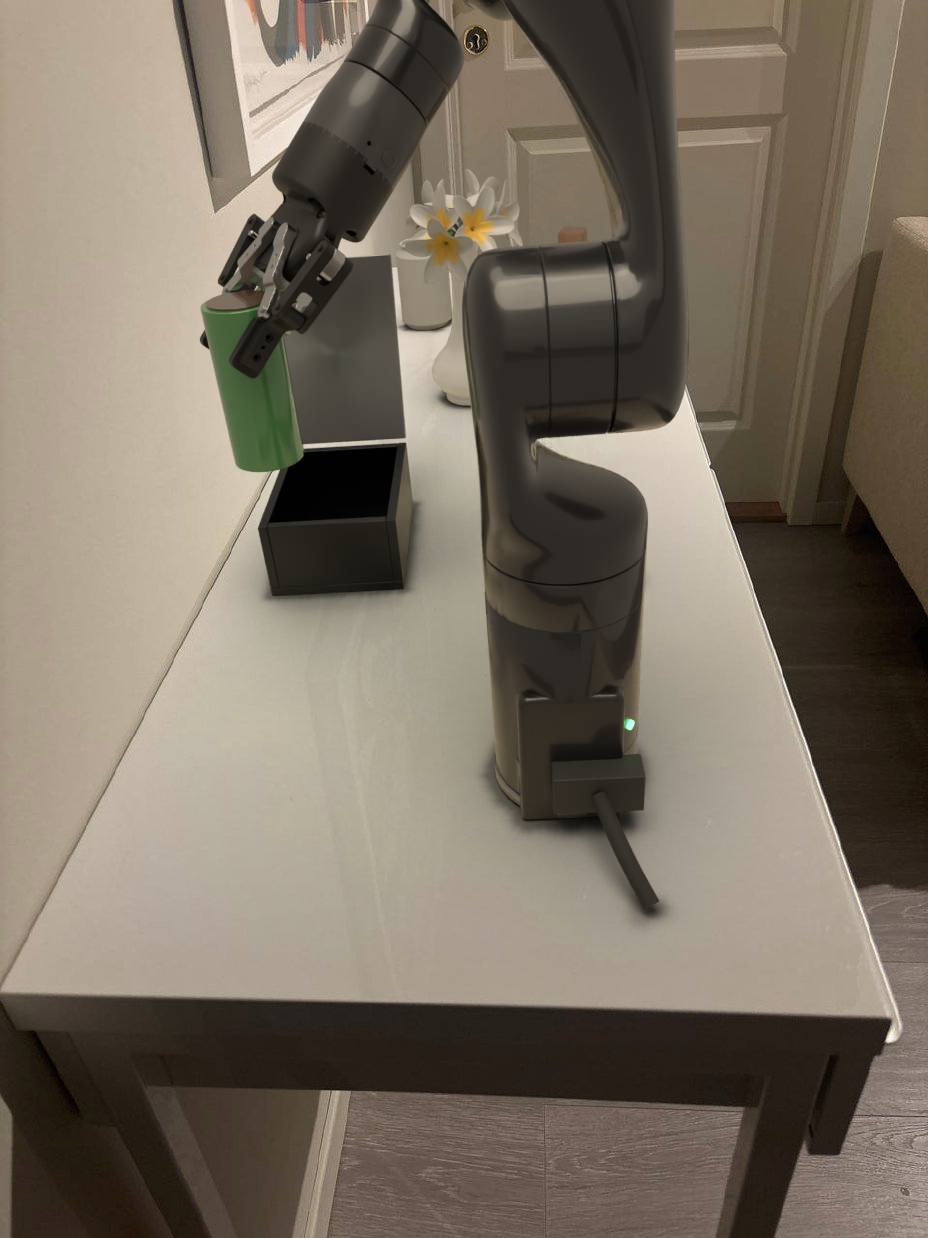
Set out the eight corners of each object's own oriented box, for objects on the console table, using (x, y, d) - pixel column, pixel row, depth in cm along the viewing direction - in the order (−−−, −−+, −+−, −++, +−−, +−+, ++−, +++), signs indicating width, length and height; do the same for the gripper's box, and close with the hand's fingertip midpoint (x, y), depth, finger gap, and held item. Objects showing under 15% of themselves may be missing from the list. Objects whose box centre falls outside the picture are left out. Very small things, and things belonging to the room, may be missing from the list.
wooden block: (563, 276, 159) (563, 225, 155) (587, 277, 158) (587, 226, 154) (557, 283, 156) (557, 231, 152) (582, 284, 155) (582, 232, 151)
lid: (390, 254, 86) (391, 254, 87) (262, 262, 87) (264, 262, 87) (405, 438, 92) (406, 436, 92) (285, 445, 92) (287, 444, 93)
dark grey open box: (403, 588, 83) (395, 520, 79) (272, 595, 84) (257, 527, 80) (413, 504, 96) (406, 441, 92) (298, 511, 97) (287, 449, 93)
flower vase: (414, 431, 111) (390, 200, 97) (429, 373, 126) (410, 167, 112) (526, 427, 110) (519, 193, 96) (528, 369, 125) (521, 160, 111)
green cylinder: (298, 470, 72) (268, 308, 65) (228, 474, 72) (191, 313, 66) (309, 441, 77) (282, 286, 70) (242, 445, 77) (209, 291, 70)
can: (395, 322, 146) (386, 239, 139) (440, 312, 148) (434, 231, 141) (414, 335, 140) (406, 249, 133) (460, 325, 142) (455, 240, 136)
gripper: (268, 110, 70) (150, 311, 72) (358, 124, 60) (217, 358, 61) (344, 177, 75) (231, 363, 77) (438, 201, 65) (306, 415, 67)
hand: (226, 360), depth 69 cm, fingers closed on green cylinder, 5 cm apart
